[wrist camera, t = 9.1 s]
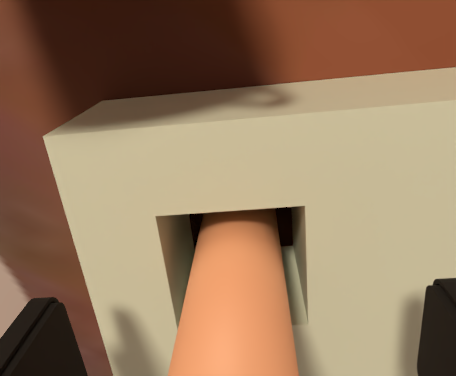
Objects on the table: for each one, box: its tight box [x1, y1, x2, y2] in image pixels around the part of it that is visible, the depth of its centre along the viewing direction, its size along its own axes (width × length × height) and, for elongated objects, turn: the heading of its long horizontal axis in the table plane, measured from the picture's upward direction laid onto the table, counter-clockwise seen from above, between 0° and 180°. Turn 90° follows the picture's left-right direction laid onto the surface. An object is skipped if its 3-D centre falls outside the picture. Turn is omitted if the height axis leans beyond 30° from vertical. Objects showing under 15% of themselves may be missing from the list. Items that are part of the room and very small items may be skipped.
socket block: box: [43, 67, 456, 376], centre depth 15 cm, size 20×10×5 cm, turn 96°
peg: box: [168, 208, 299, 376], centre depth 13 cm, size 3×3×10 cm
